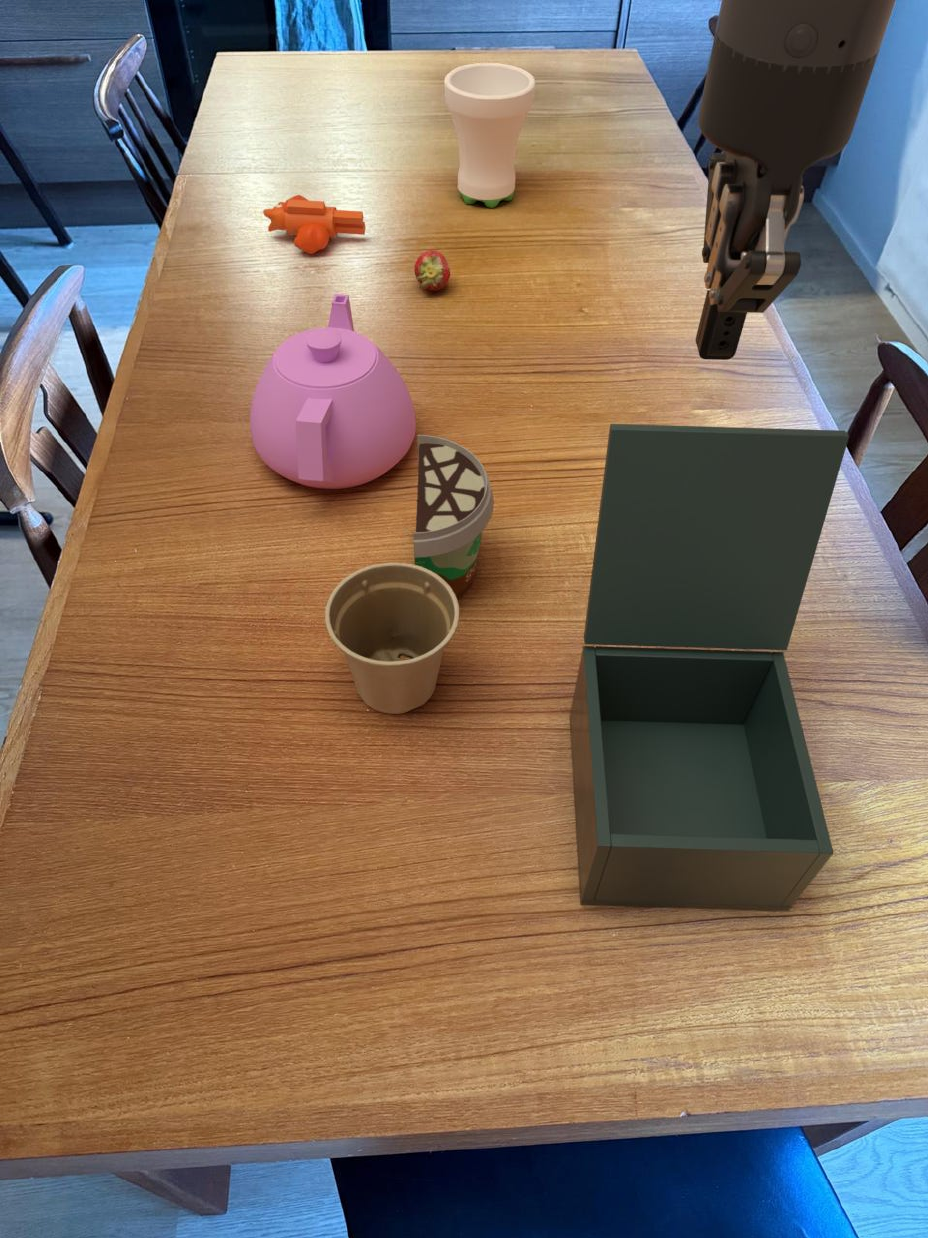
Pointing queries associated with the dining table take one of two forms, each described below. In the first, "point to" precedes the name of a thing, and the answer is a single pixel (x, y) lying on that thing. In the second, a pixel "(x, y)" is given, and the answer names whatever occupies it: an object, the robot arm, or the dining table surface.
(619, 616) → the lid
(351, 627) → the flower pot
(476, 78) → the cup
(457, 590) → the food container
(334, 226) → the orange long irregular piece
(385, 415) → the teapot
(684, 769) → the caddy
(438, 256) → the fruit
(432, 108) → the dining table surface
